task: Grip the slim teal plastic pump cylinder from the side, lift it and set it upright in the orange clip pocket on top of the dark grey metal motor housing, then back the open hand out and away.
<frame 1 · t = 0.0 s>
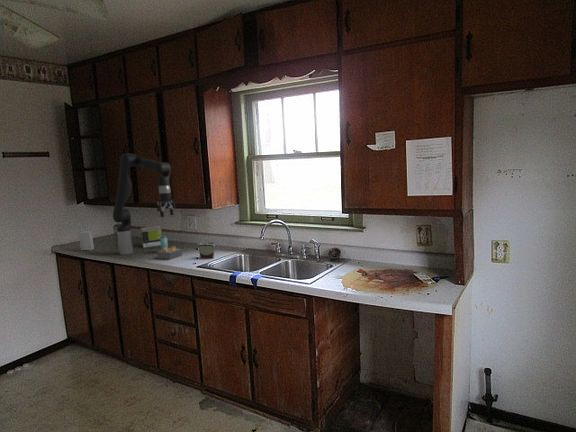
hand: (167, 216, 266), 29 cm above the worktop, tool pointing down, fingers open, 8 cm apart
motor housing: (169, 257, 273), on the worktop
tea box: (152, 245, 316), on the worktop
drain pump: (164, 252, 289), on the worktop
skincare box: (87, 250, 310), on the worktop
food container: (208, 257, 267), on the worktop
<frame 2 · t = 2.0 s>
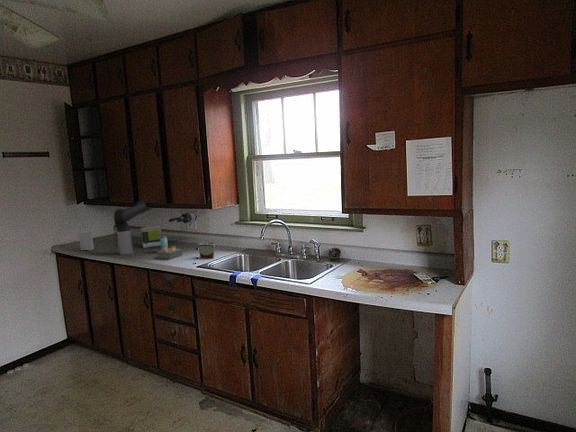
hand: (173, 220, 295), 22 cm above the worktop, tool horizontal, fingers open, 8 cm apart
nothing on the worktop moved.
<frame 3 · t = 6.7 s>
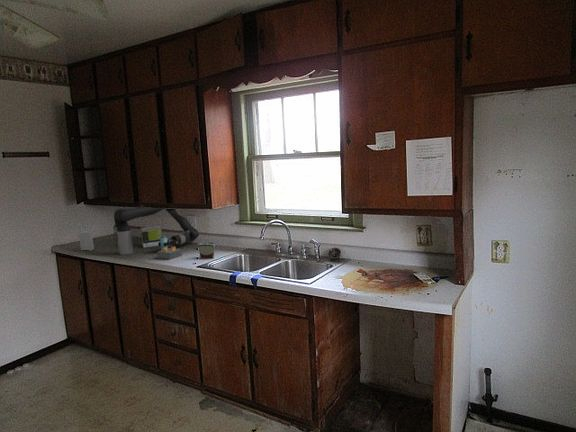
hand: (161, 244, 286), 7 cm above the worktop, tool horizontal, fingers closed on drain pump, 5 cm apart
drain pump: (165, 252, 289), on the worktop, touching gripper
everything else where it was.
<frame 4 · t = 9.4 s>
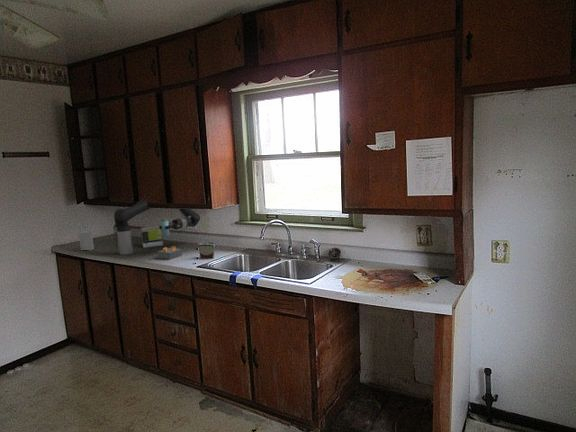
hand: (162, 227, 276), 20 cm above the worktop, tool horizontal, fingers closed on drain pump, 5 cm apart
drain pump: (166, 236, 280), point 13 cm above the worktop, touching gripper
everything else where it was.
when the fingers open (13 cm above the worktop, at t = 12.3 s): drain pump drops 1 cm, resting on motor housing.
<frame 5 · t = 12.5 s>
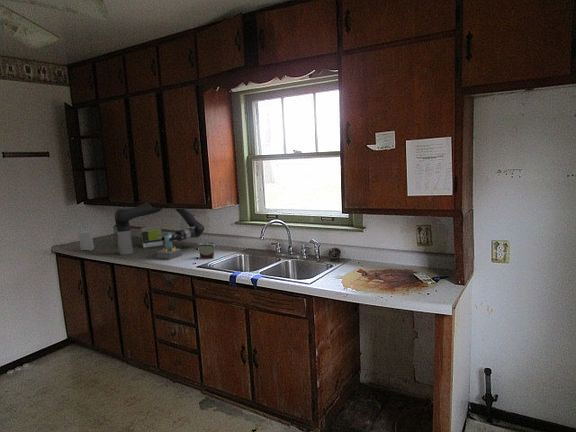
hand: (165, 239, 269), 13 cm above the worktop, tool horizontal, fingers open, 7 cm apart
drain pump: (169, 249, 272), point 5 cm above the worktop, touching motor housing
everything else where it was.
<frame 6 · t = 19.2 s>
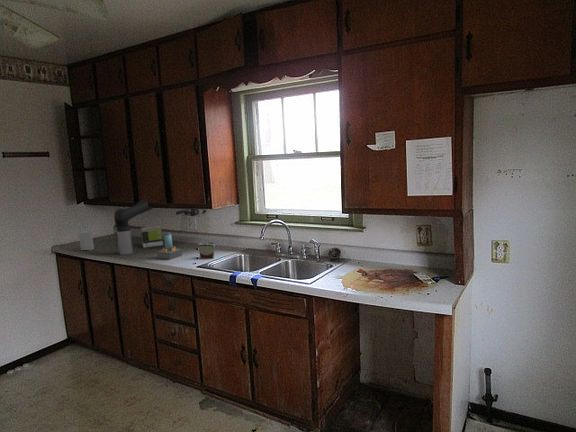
hand: (180, 213, 287), 28 cm above the worktop, tool horizontal, fingers open, 8 cm apart
nothing on the worktop moved.
at the end: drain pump 0.1 cm off-centre on the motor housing, point 5.1 cm above the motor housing's base; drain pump tilted 2°; the gripper is holding nothing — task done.
